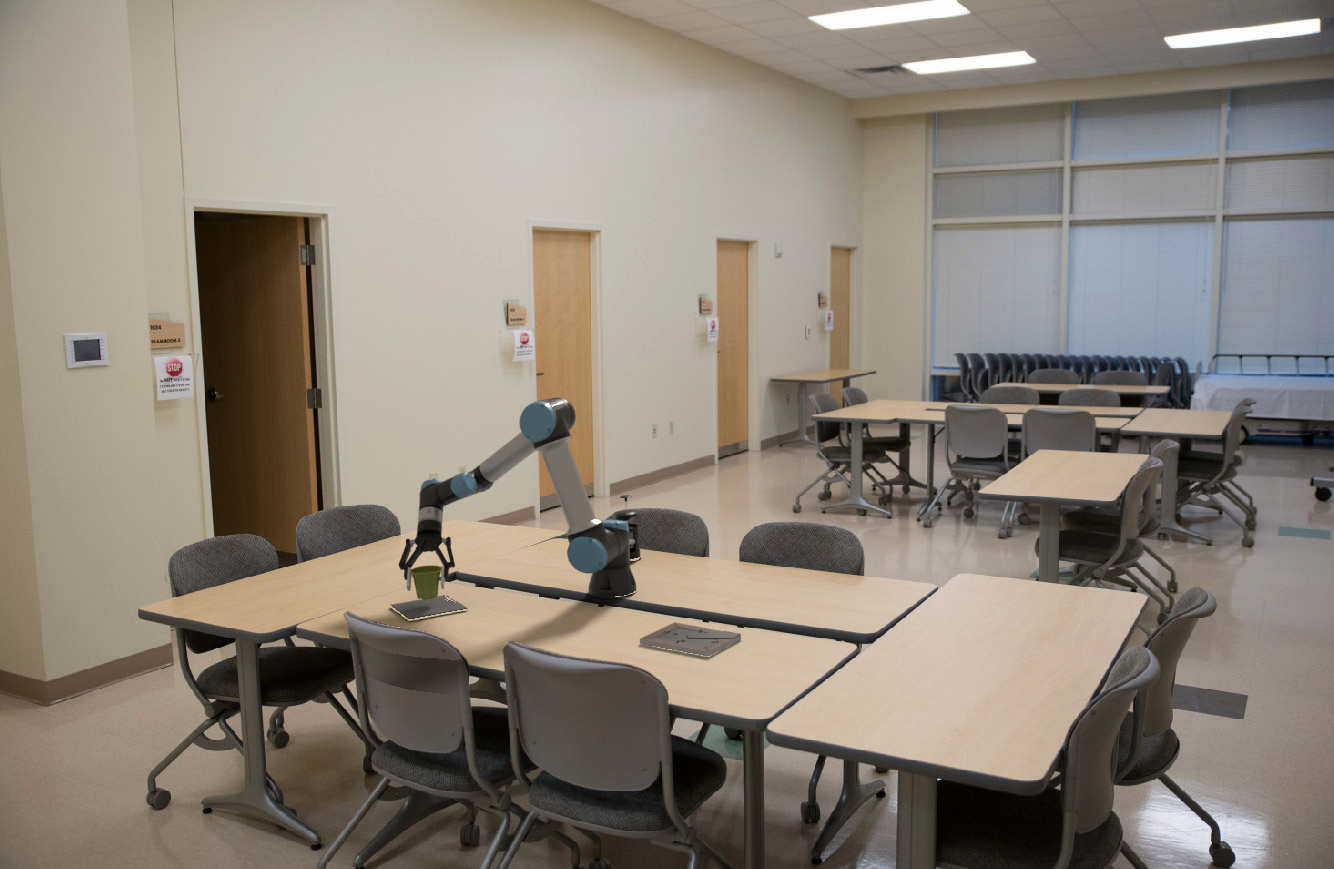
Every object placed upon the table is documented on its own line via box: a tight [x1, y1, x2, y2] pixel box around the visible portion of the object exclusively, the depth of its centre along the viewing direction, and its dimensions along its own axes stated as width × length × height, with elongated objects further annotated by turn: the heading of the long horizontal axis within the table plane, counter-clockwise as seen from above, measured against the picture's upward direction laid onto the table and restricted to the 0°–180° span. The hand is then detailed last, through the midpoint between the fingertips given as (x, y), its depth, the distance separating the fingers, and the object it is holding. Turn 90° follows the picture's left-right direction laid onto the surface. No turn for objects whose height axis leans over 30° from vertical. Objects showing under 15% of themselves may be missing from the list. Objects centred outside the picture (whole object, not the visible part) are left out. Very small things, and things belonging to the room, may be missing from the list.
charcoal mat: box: [390, 594, 468, 619], centre depth 318 cm, size 18×18×1 cm
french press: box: [613, 494, 641, 559], centre depth 372 cm, size 12×9×23 cm
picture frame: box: [639, 622, 742, 657], centre depth 280 cm, size 16×2×22 cm
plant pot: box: [410, 565, 442, 600], centre depth 317 cm, size 9×9×9 cm
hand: (425, 587), depth 314 cm, fingers closed on plant pot, 9 cm apart
